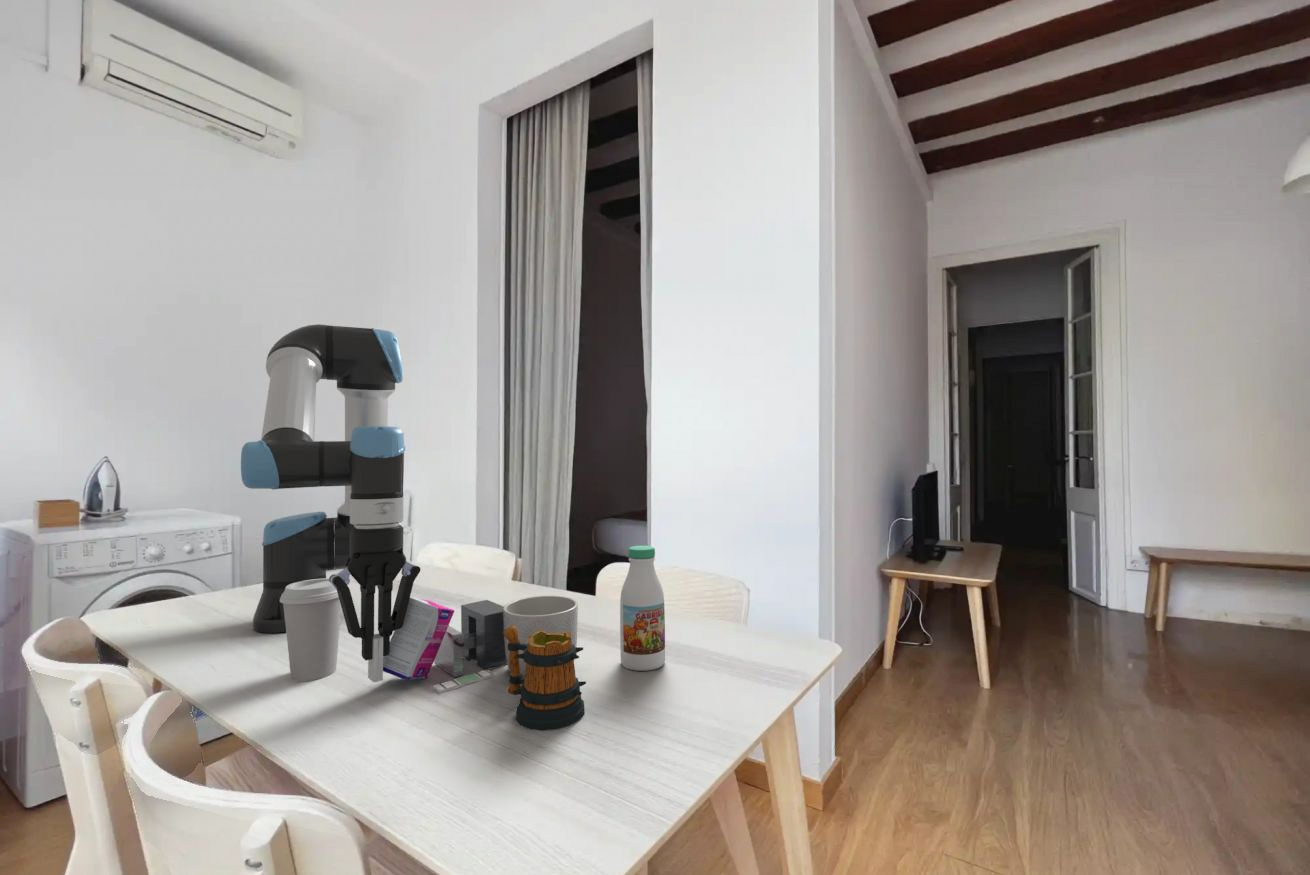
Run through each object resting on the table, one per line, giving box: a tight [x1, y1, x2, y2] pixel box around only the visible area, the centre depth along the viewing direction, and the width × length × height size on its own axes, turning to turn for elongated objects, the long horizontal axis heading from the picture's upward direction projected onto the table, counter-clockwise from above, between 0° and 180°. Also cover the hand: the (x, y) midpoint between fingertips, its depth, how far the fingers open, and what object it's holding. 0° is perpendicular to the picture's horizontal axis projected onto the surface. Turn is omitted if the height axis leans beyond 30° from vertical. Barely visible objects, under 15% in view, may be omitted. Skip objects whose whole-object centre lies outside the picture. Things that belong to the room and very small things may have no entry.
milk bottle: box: [619, 545, 666, 672], centre depth 97 cm, size 8×8×20 cm
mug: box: [503, 626, 587, 732], centre depth 80 cm, size 13×10×12 cm
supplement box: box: [383, 596, 455, 681], centre depth 92 cm, size 6×6×12 cm
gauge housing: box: [460, 599, 508, 671], centre depth 100 cm, size 9×5×9 cm, turn 43°
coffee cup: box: [280, 577, 342, 682], centre depth 95 cm, size 10×10×15 cm
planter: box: [503, 595, 579, 678], centre depth 95 cm, size 12×12×11 cm
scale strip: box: [432, 669, 495, 694], centre depth 90 cm, size 2×9×1 cm, turn 133°
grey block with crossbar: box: [433, 626, 477, 677], centre depth 98 cm, size 10×12×7 cm
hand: (375, 678), depth 87 cm, fingers closed
